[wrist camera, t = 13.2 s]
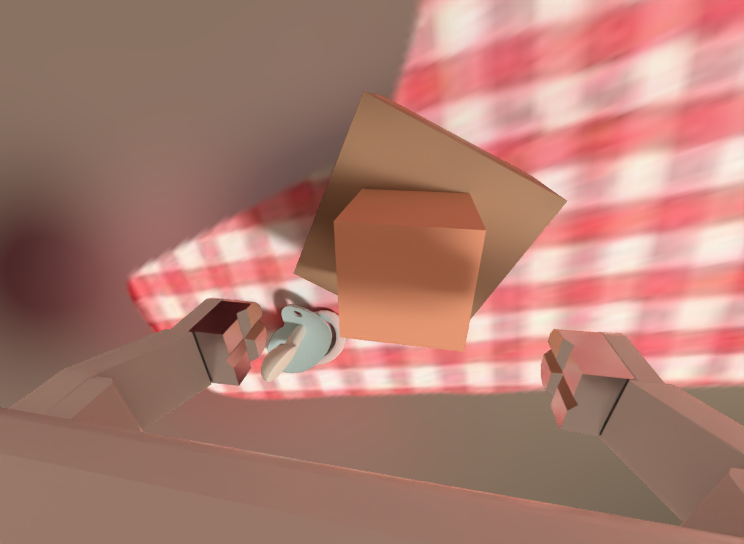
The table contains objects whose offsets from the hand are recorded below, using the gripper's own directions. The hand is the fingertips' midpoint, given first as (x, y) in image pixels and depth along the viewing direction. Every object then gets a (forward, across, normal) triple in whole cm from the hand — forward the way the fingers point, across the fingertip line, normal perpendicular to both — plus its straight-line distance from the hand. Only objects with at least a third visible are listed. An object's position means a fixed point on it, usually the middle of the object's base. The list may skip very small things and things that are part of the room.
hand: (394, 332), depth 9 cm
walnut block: (+14, 0, +1) cm, 14 cm away
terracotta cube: (+8, 0, 0) cm, 8 cm away
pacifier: (+14, +9, +12) cm, 20 cm away
